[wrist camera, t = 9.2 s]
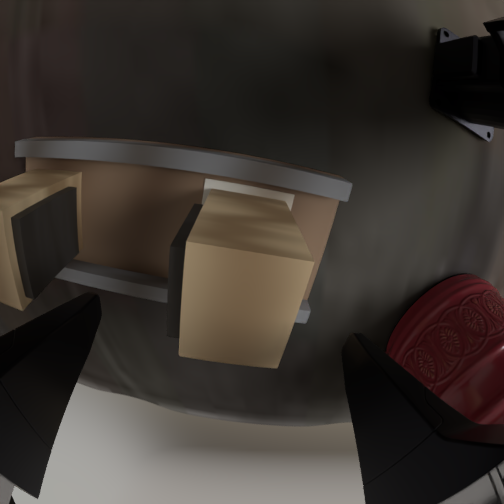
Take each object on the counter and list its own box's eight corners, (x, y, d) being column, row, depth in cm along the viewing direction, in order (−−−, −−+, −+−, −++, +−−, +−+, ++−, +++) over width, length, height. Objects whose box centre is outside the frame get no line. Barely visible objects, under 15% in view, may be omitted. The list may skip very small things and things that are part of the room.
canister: (502, 295, 21) (591, 406, 5) (430, 381, 25) (484, 501, 10) (446, 245, 18) (597, 415, 2) (354, 365, 23) (409, 546, 7)
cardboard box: (285, 201, 15) (314, 261, 9) (266, 280, 17) (277, 368, 11) (200, 186, 15) (167, 238, 8) (190, 268, 17) (164, 353, 10)
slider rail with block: (339, 175, 16) (410, 223, 8) (300, 303, 19) (324, 396, 12) (35, 136, 14) (-53, 161, 6) (40, 255, 17) (-22, 315, 10)
